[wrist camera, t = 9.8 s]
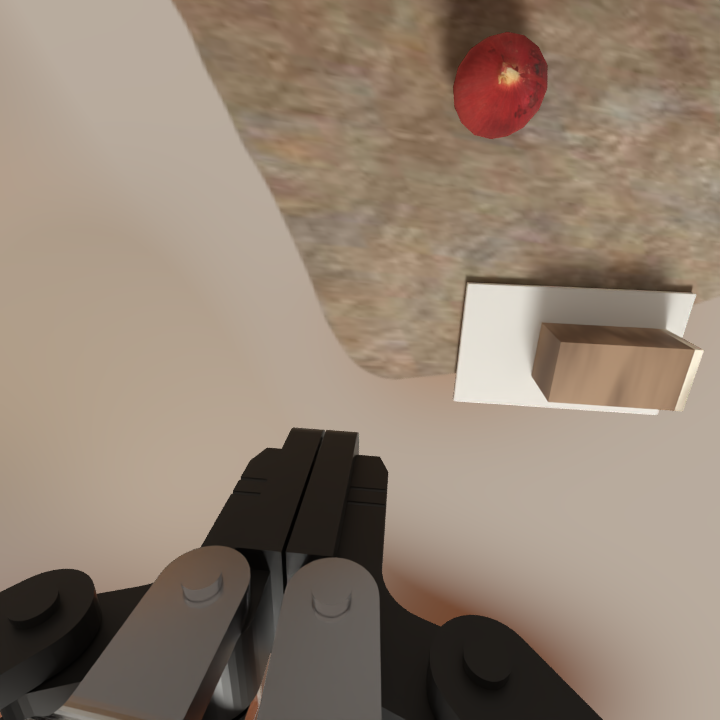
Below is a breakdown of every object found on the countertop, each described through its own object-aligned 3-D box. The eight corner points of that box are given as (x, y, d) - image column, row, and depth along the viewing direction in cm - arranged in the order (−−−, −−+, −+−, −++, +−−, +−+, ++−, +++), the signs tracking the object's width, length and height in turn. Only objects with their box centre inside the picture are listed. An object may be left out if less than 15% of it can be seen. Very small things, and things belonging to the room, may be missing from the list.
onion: (529, 43, 30) (570, -3, 23) (531, 134, 32) (568, 120, 25) (445, 61, 31) (457, 22, 24) (451, 149, 33) (465, 138, 26)
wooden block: (541, 322, 37) (665, 329, 36) (531, 376, 39) (649, 383, 38) (561, 342, 32) (703, 350, 31) (548, 402, 34) (682, 411, 33)
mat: (691, 292, 35) (696, 294, 35) (653, 411, 39) (657, 415, 39) (466, 282, 37) (467, 283, 36) (453, 398, 41) (453, 400, 40)
